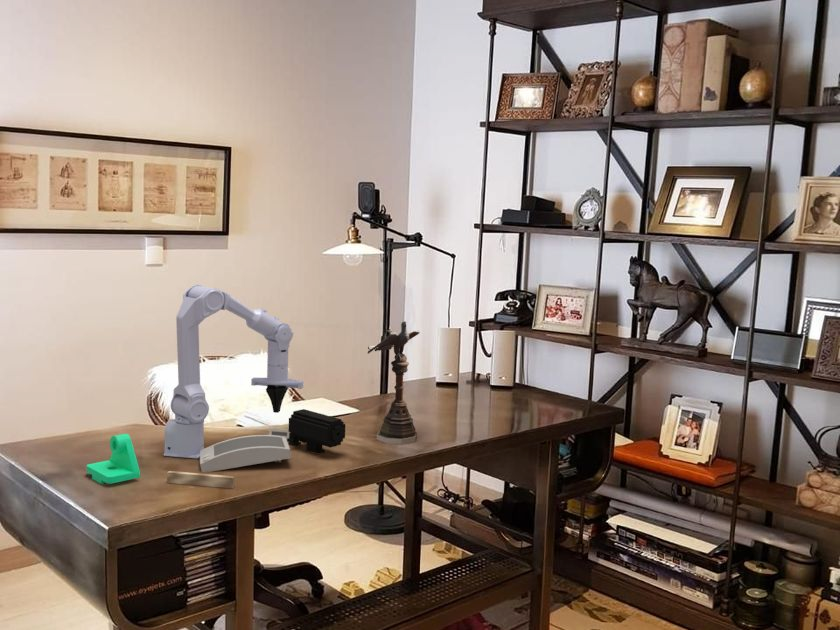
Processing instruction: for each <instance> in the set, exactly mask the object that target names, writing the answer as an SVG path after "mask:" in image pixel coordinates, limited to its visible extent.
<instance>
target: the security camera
mask: <svg viewBox="0 0 840 630" xmlns="http://www.w3.org/2000/svg"><path fill="white" fill-rule="evenodd" d="M288 429H289V432H290V433H289V438H288V439H287V443H288V445H289V446H292V447H298V446H301V445H302V443H303V444H305V450H306V451H308V452H311V453H314V454H317V455H319V454H322V453H325V449H323V446H324V447H327V448H333V447H337V446H341V445H342V442H344V439H346V423H345V422H344V421H343V420H342V419H341V418H338V417H335V416H331V415H326V414H323V413H319V412H315V411H312V410H309V409H304V408H303V409H297V410H293V411H292V414H290V417H288Z"/></svg>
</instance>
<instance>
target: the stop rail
mask: <svg viewBox="0 0 840 630" xmlns="http://www.w3.org/2000/svg"><path fill="white" fill-rule="evenodd" d="M235 479H236V478H235V476H231V475H224V474H223V475H222V474H221V475H220V474H209V473H197V472H187V471H174V470H173V471H172V470H169V471H167V472H166V483H167V484H175V485H176V484H179V485H190V486H198V487H199V486H202V487H212V488H222V489H223V488H224V489H234V488H235Z"/></svg>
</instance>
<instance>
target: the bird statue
mask: <svg viewBox="0 0 840 630" xmlns="http://www.w3.org/2000/svg"><path fill="white" fill-rule="evenodd" d="M400 324H401V325H400V328H401V331H400V333H398V332H393V330H392V328H391V327H390V326H389V328H388V330H387V332H388V336H387V337H385V339H383V340H382V341H381V342H379V343H378V344H376V345H368V347H367V349H368V351H367V354H368V355H369V354H370V353H371V352H373V351H374V352H378V351H381V352H383V351H386V350H387V351H388V350H392V349H393V352H394V358H393V359H394V360H393V361H391V363H390V364H391V371H392V372H393V373H394V374H395V386H393V387H394V388H393V389H395V393H394V394H395V398H394V400H393V401H392V402H391V404H390V408H389V410H388V412H387V413H386V415H385V416H384V417H383V419H382V421H383V422H382V425H381V427H380V429H379V430H378V431H377V433H376V440H377V441H379V442H382V443H384V444H388V445H400V446H401V445H407V444H412V443H416V441H417V439H418V438H417V437H418V432H417V431H416V428H415V425H414V422H413V421H414V418H412V415H411V414H410V412H409V409H408V406H407V405H408V404H407V403H406V401H404V397H403V395H404V389H405V386H404V375H405V373H407V372H408V366H409V364H410V363H409V361H407V356H406V354H405V353H404V350H405V345H406V344H407V343H408V342H409V341H410V340H412V339H413V338H414V337H416V336H418V335H419V334H421V333H420V331H419V330H413V331H411V332H409V331H408V329H407V321H402V322H401V323H400Z"/></svg>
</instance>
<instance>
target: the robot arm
mask: <svg viewBox="0 0 840 630" xmlns="http://www.w3.org/2000/svg"><path fill="white" fill-rule="evenodd" d="M221 310H222V311H225V310H226V311H228V312H229V313H232V314H234V315H236V316H237V317H240V318H242V319H244V320H245V322H246V326H247V327H248V328H250V329H251V330H252V331H254V332H256V333H258V334H260V335H262V336H263V337H264V339H265V340H266V341H267V360H266V363H267V366H266V367H267V369H266V375H267V376H266V377H252V378H251V383H250V384H251V386H263V387H264V386H265V387H266V388H265V392H266V394H267V395H268V397H269V399H270V400H269V401H270V403H271V407H272V411H273V413H276V414H277V413H280V411H281V408H282V404H283V401H284V398H285V396H286V393H287V392H288V390H289V388H292V389H298V390H301V389H304V380H297V379H291V378H288V377H289V375H288V374H289V372H288V371H289V348H290V343H291V341H292V340H293V337H294V332H292V328H291V327H290V325H289V324H287V323H284V322H280V319H279V318H278V317H276V316H274V317H273V316H271V315H270V314H268V311H267V309H265V308H254V309H252V308H250V307H249V306H247V305H245V304H244V303H243V302H242V301H239V300H238V299H237V298H235V297H233V296H232V295H230V294H229V293H228V292H225V291H222V290H220V289H218V288H216V287H207V286H203V285H199V284H194V285H192V286H190V287H189V288H188V289H187V290H186V291H184V293H183V295H182V303H181V305H180V307H179V310H178V312H177V315H176V319H175V320H176V346H177V347H176V348H177V351H176V352H177V353H176V354H177V370H178V371H177V377H178V384H177V386H175V387H174V389H173V390H172V391H173V394H172V395H173V396H172V399H171V401H170V410H171V412H172V414H174V419H173V418H172V419H171V418H170V419H168V421H167V422H166V423H165V427H164V453H163V456H164V457H176V458H187V459H200V451H201V450H203V449H205V448H206V447H204V445H205V444H204V442H205V439H204V437H205V436H204V431H205V428H204V427H205V424H204V423H205V419H206V418H207V416H208V414H209V411H210V406H209V404H208V401H207V400H206V392H205V391H204V389H203V387H202V385H201V367H200V366H201V365H200V364H201V362H200V361H201V360H200V335H199V333H200V332H199V331H200V330H199V329H200V328H199V327H200V324H201V323H202V322H203V321H204V320H205V319H207V318H208V317H210V316H212V315H215V314H216V313H217V312H219V311H221Z"/></svg>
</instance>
